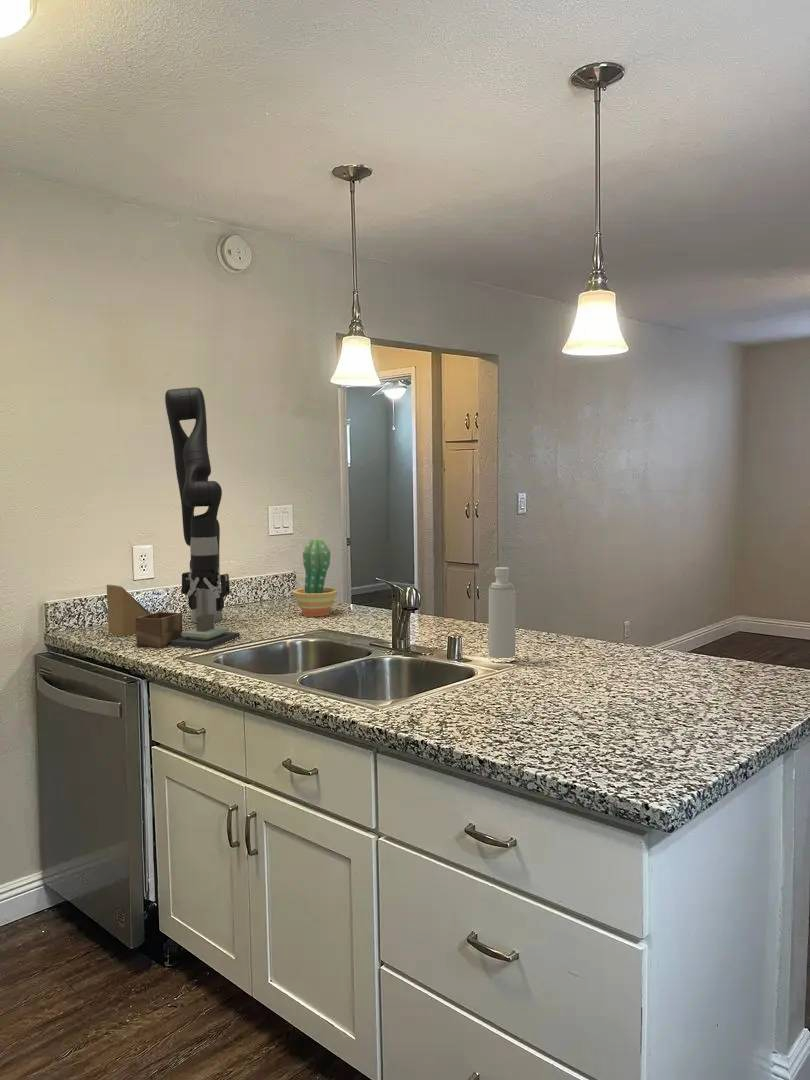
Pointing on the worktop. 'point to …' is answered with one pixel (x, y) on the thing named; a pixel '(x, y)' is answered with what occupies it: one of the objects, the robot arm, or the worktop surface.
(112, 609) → the magazine file holder
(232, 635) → the plate
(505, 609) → the grey bottle
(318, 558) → the potted cactus
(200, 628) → the lid
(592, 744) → the worktop surface
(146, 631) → the walnut box
